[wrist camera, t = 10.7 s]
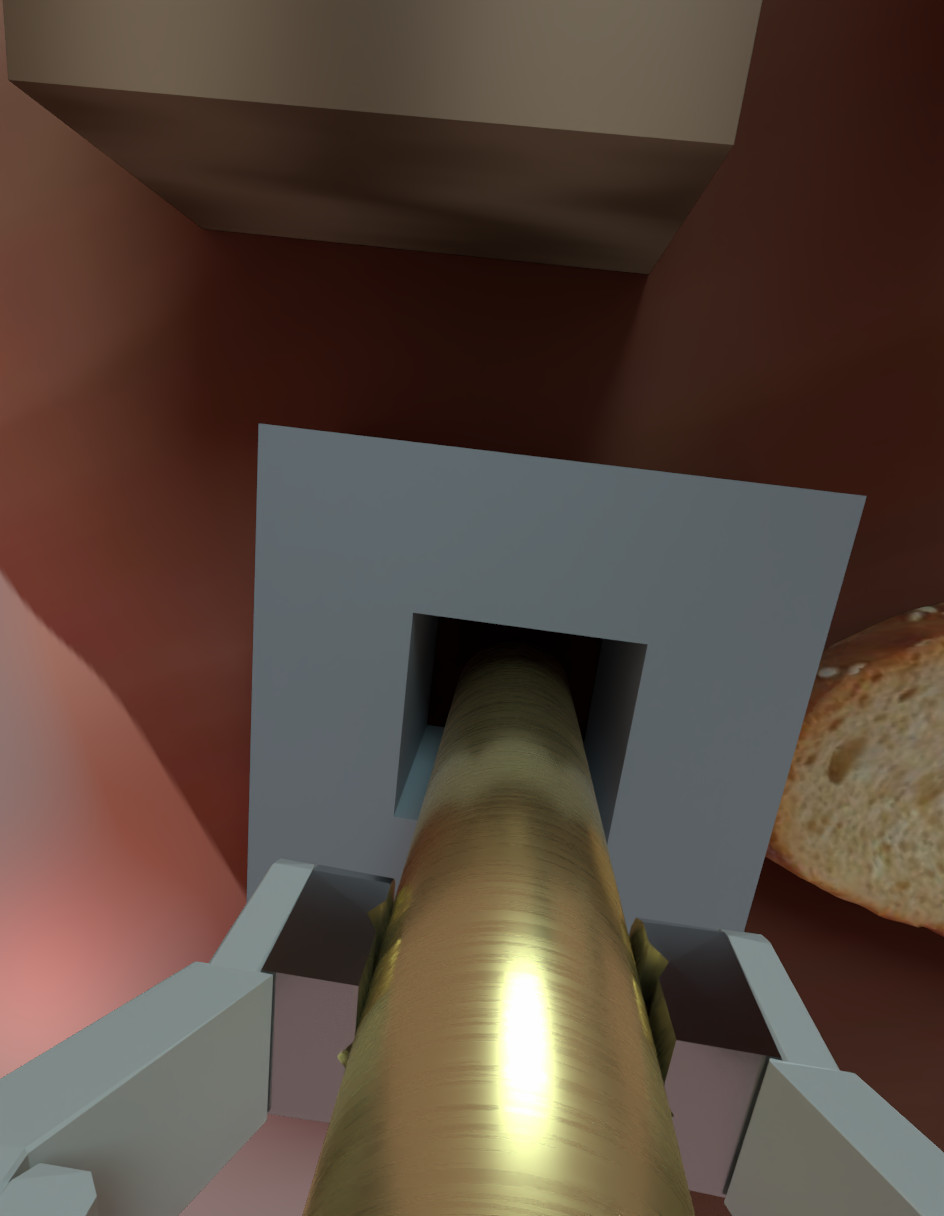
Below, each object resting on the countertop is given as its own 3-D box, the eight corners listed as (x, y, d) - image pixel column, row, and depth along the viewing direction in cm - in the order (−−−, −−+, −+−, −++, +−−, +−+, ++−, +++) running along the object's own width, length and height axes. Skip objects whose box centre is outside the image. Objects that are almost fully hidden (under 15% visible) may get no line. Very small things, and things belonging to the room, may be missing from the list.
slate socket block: (759, 488, 16) (866, 495, 11) (672, 859, 19) (725, 995, 14) (336, 437, 16) (258, 423, 11) (315, 804, 19) (246, 916, 14)
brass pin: (578, 649, 15) (812, 1342, 3) (560, 754, 15) (691, 1643, 4) (463, 633, 15) (257, 1234, 3) (451, 738, 15) (245, 1543, 4)
